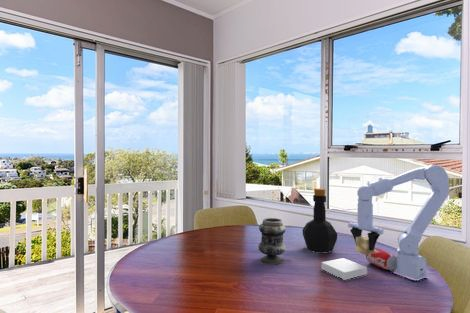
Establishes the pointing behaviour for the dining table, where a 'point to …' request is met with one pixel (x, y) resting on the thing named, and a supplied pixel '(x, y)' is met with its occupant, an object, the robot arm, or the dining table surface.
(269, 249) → the apothecary jar
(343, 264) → the plinth
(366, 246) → the ochre cube
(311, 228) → the bottle
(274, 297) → the dining table surface
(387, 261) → the soda can
